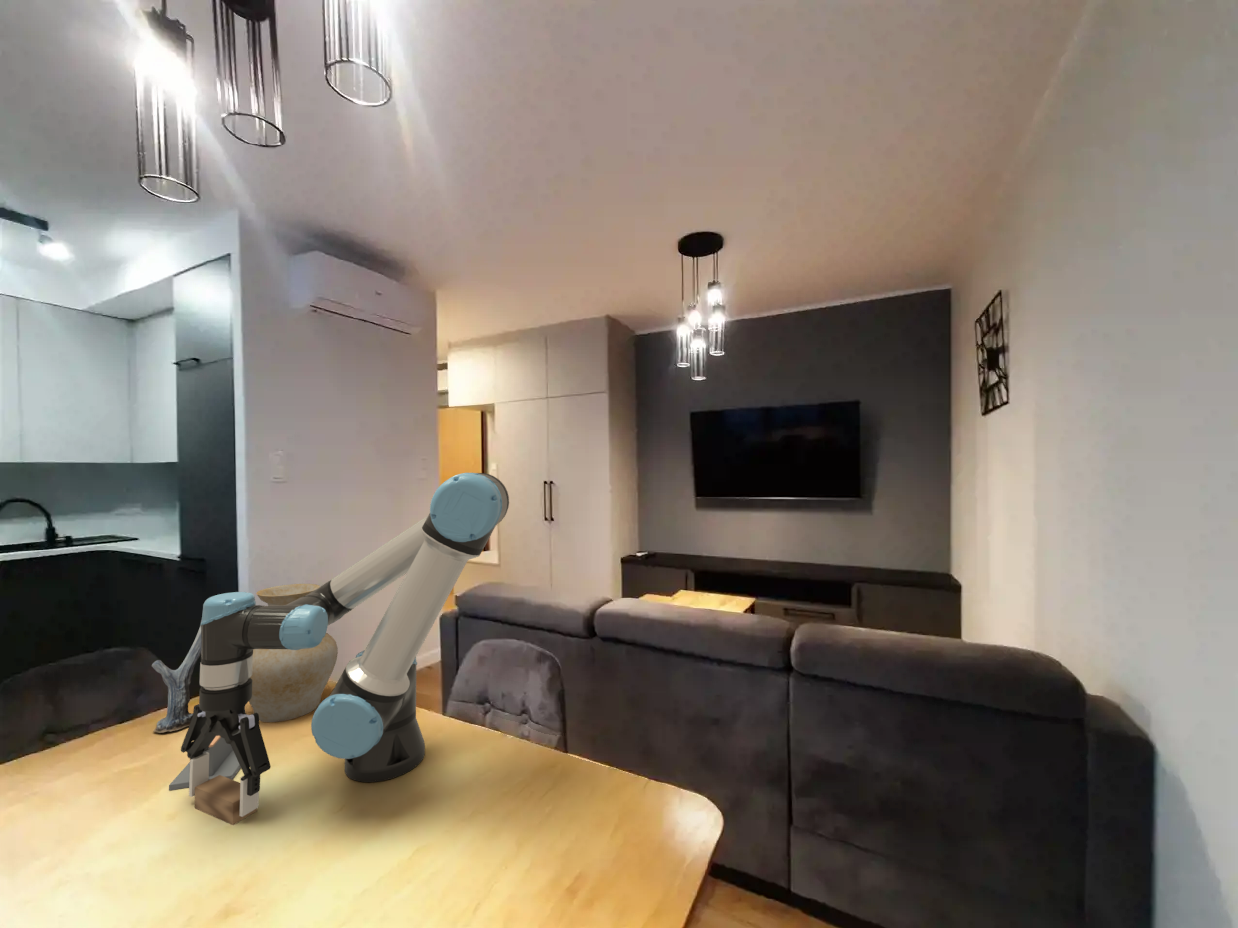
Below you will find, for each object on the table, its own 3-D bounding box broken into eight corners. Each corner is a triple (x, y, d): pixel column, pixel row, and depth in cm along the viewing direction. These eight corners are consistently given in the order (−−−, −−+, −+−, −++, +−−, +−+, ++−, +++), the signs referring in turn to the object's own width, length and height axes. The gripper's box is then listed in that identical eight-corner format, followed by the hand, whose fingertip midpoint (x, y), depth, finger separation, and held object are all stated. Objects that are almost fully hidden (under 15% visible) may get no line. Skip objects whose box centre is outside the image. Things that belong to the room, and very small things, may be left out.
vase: (254, 695, 137) (254, 583, 138) (345, 685, 144) (345, 578, 144) (217, 736, 117) (218, 603, 117) (326, 722, 123) (327, 596, 123)
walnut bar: (257, 812, 91) (257, 789, 91) (232, 826, 88) (233, 803, 88) (219, 796, 96) (219, 774, 96) (194, 809, 92) (194, 786, 92)
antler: (164, 737, 116) (165, 626, 116) (144, 730, 119) (145, 622, 119) (220, 714, 127) (221, 612, 127) (200, 709, 130) (201, 609, 130)
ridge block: (260, 739, 115) (261, 707, 115) (231, 780, 100) (232, 744, 100) (207, 746, 112) (207, 714, 112) (168, 790, 97) (169, 753, 97)
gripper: (296, 685, 91) (292, 806, 91) (204, 663, 100) (201, 773, 100) (252, 703, 84) (248, 834, 84) (158, 677, 93) (155, 796, 93)
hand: (223, 801), depth 92 cm, fingers open, 13 cm apart
